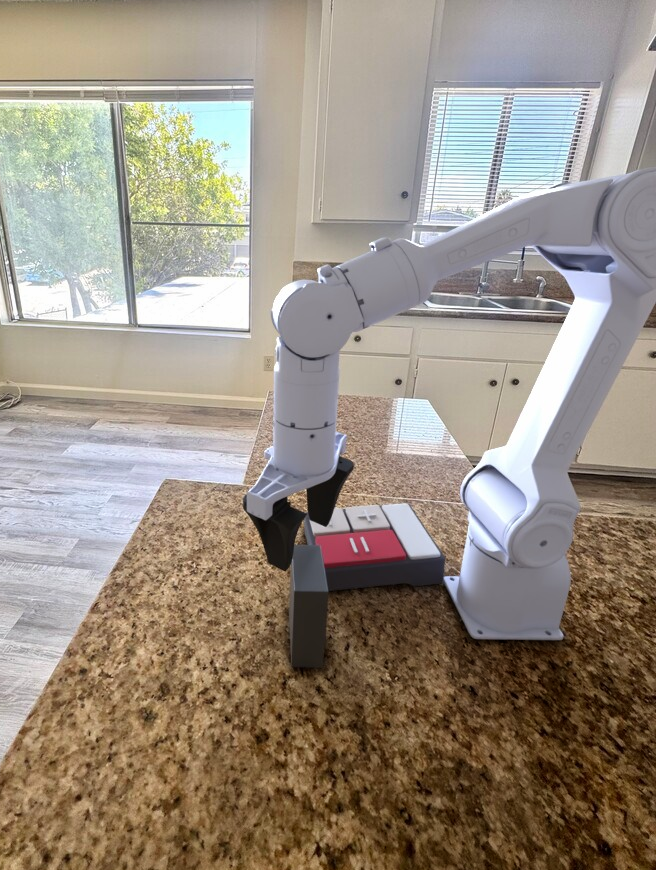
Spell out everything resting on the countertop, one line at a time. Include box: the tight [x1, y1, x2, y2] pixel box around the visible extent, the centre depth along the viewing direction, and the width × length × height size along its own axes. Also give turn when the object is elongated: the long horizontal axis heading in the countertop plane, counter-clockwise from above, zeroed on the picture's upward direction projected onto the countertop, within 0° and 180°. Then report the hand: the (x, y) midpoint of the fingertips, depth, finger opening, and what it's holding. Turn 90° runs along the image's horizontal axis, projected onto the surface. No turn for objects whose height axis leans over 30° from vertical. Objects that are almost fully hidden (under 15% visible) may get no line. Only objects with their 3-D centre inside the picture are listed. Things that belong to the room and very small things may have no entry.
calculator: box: [303, 502, 446, 592], centre depth 53 cm, size 11×4×15 cm
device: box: [288, 544, 330, 669], centre depth 41 cm, size 3×6×9 cm, turn 0°
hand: (300, 541), depth 42 cm, fingers open, 7 cm apart
